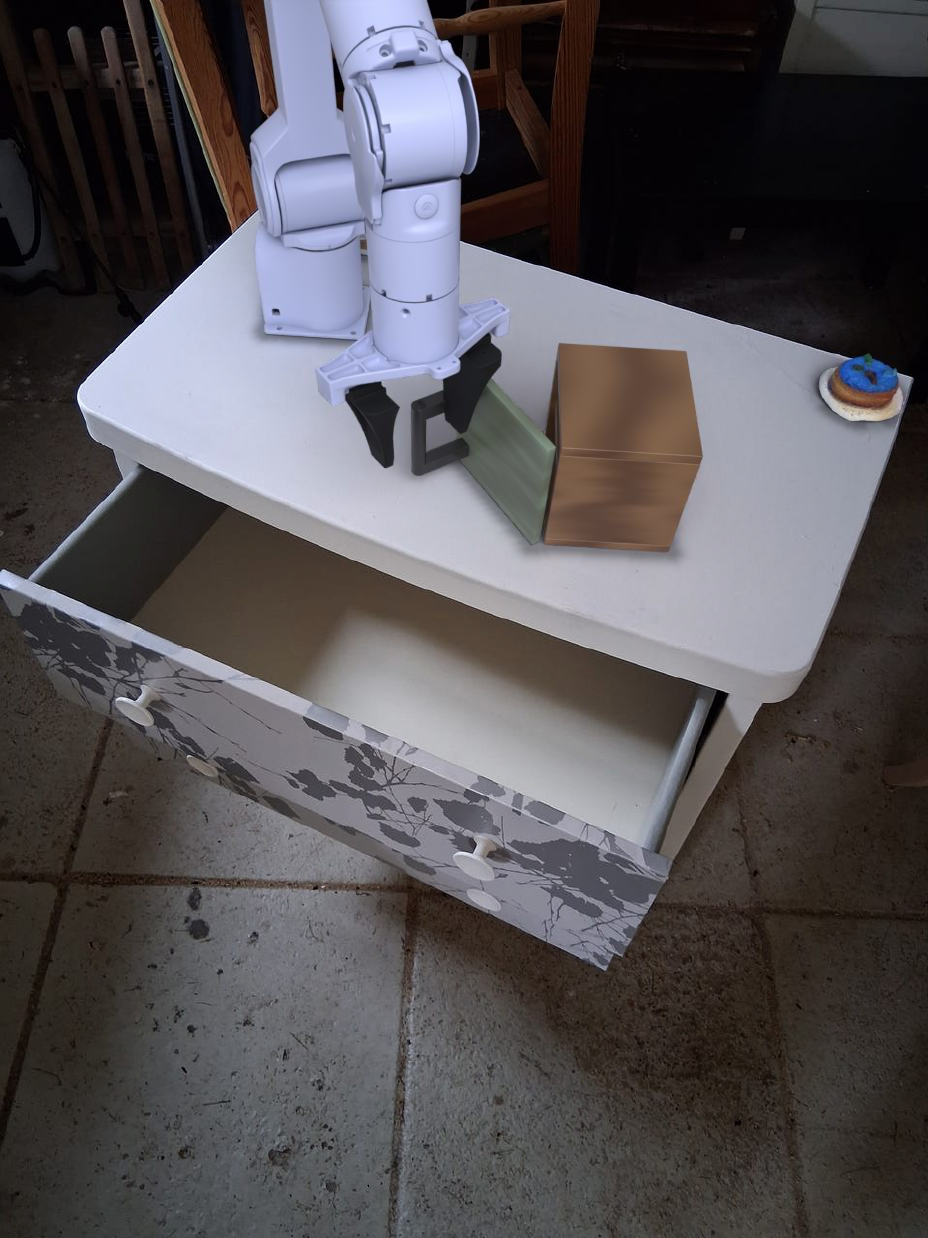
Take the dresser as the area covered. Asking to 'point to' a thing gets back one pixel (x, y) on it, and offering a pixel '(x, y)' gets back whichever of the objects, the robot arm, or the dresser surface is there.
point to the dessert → (862, 389)
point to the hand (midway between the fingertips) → (419, 442)
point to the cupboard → (620, 447)
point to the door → (493, 454)
